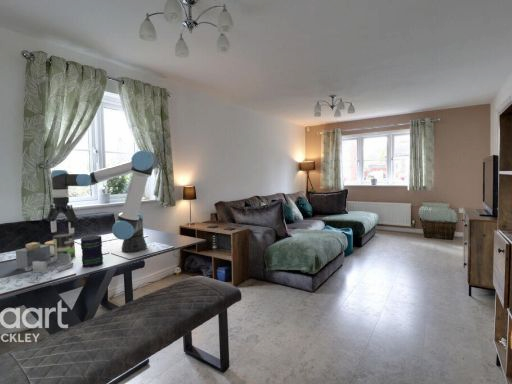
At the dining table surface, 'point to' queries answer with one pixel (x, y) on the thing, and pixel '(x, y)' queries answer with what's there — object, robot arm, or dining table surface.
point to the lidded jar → (50, 246)
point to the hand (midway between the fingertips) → (62, 232)
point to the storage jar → (91, 251)
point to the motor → (39, 258)
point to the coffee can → (64, 245)
